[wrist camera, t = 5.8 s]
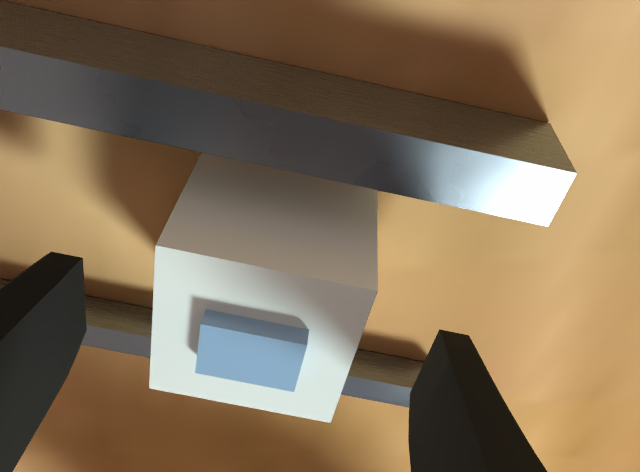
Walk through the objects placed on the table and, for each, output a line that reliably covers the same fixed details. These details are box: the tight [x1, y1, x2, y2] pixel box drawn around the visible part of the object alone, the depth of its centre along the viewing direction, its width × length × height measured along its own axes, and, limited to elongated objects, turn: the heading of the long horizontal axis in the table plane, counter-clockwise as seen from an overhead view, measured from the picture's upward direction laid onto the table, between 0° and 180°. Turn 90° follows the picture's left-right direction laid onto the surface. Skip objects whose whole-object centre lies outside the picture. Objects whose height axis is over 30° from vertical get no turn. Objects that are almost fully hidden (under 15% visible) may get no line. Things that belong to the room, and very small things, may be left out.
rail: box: [0, 0, 577, 407], centre depth 13 cm, size 8×17×3 cm, turn 79°
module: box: [149, 153, 378, 423], centre depth 13 cm, size 4×4×4 cm
